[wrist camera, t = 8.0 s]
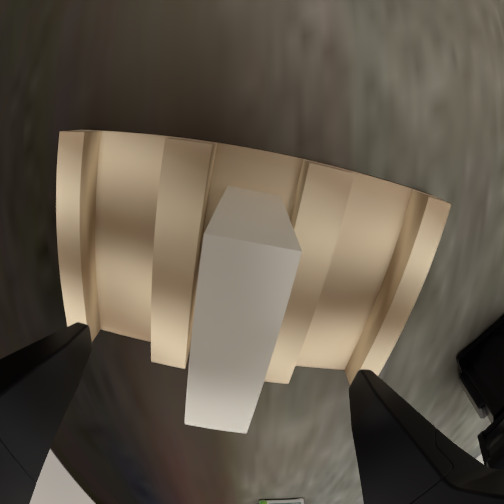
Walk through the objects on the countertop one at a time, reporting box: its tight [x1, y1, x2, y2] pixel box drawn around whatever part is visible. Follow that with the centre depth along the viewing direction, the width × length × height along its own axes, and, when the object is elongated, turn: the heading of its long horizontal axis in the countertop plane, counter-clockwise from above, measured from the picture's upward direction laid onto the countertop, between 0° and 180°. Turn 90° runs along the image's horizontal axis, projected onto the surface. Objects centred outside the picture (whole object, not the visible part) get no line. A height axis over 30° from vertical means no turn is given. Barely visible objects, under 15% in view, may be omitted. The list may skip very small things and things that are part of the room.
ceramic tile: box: [185, 186, 302, 433], centre depth 12 cm, size 2×8×7 cm, turn 169°
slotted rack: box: [56, 130, 451, 385], centre depth 15 cm, size 12×19×2 cm, turn 79°
